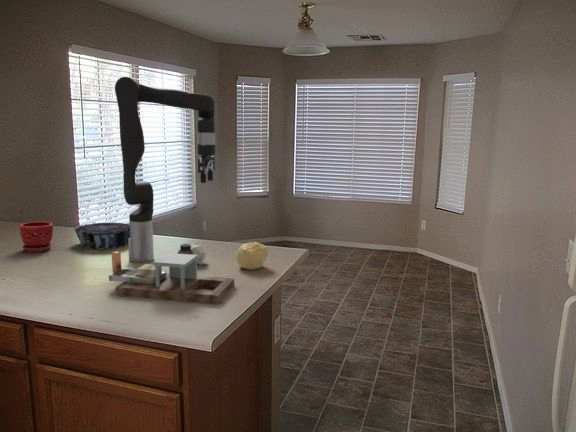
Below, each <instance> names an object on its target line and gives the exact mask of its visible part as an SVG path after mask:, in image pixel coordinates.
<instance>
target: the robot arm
mask: <svg viewBox="0 0 576 432" xmlns="http://www.w3.org/2000/svg"><path fill="white" fill-rule="evenodd" d="M114 93H115V96H116V102H117V107H118V108H117V109H118V112H119V113H118V114H119V116H118V117H119V118H118V119H119V120H118V121H119V137H120V140H119V141H120V148H121V150H120V151H121V156H122V158H121V159H122V166H123V167H122V168H123V171H122V172H123V175H122V176H123V196H124V200H125V202H126V204H127V205H129V206H138V205H139V206H138V208H137V209H135V210H134V211H132V212H130V213H129V217H128V218H129V224H130V238H129V239H128V244H127V246H128V260H129V261H132V262H134V263H147V262H150V261H153V260H154V259H155V258H154V257H155V256H154V233H153V231H154V229H153V215H154V188H153V186H152V184H151V183H150V182H149V181H137V182H136V171H137V168H138V166H139V164H140V162H141V160H142V157H143V156H144V153H145V150H146V149H145V137H144V131H143V125H142V123H141V119H140V115H139V109H138V107H139V106H138V103H151V104H158V105H159V104H160V105H163V106H168V107H174V108H178V109H185V110H187V109H189V110H193V111H198V112H197V113H198V120H197V139H196V140H197V145H196V146H197V155H199V156H201V157H199V158H197V173H199V175H200V183H201V184H206V183H207V181H213V180H214V171H215V170H216V165H215V164H216V161H215V155H216V133H215V130H216V129H215V100H214V98H213V97H212V96H210V95H209V94H203V93H195V92H189V91H186V90H185V91H184V90H182V89H181V90H180V89H173V88H159V87H152V86H147V85H144V84H141V83H138V82H137V81H136V80H135V79H133V78H132V77H130V76H121V77H120V78H118V79H117V80H116V82H115V84H114Z"/></svg>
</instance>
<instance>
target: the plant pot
mask: <svg viewBox="0 0 576 432" xmlns="http://www.w3.org/2000/svg"><path fill="white" fill-rule="evenodd" d="M19 232H20V237H21V241H22V242H23V246H22V249H23V250H24V251H26V252H29V253H33V252H34V253H35V252H44V251H47V250H49V249H50V248H51V247H52V242H51V241H52V239H53V233H54V224H53V223H52V222H49V221H48V222H47V221H31V222H25V223H21V224H20V225H19Z"/></svg>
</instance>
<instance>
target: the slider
mask: <svg viewBox="0 0 576 432" xmlns="http://www.w3.org/2000/svg"><path fill="white" fill-rule="evenodd" d="M121 255H122V254H121V251H117V250H116V251H112V252H111V268H112V269H111V271H112V273H110V274H108V281H109V282H118V283H123V282H130V283H142V284H154V285H155V284H156V278H155V277H154V278H149V277H138V268H130V267H122V257H121ZM166 273H167V271H166V270H162V272H161V273H160V281H161V280H162V279H164V278H165V277H166Z"/></svg>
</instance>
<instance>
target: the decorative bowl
mask: <svg viewBox="0 0 576 432" xmlns="http://www.w3.org/2000/svg"><path fill="white" fill-rule="evenodd" d="M73 230H74V232H75V234H76V236H77V238H78V240H79V243H80V244H81V245H82V246H83V247H85V248H89V249H91V250H109V249H110V250H111V249H115V248H121V247H124V246H128V239H129V238H130V223H124V222H97V223H96V222H94V223H88V224H81V225H78V226H76V227H74V228H73Z"/></svg>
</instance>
